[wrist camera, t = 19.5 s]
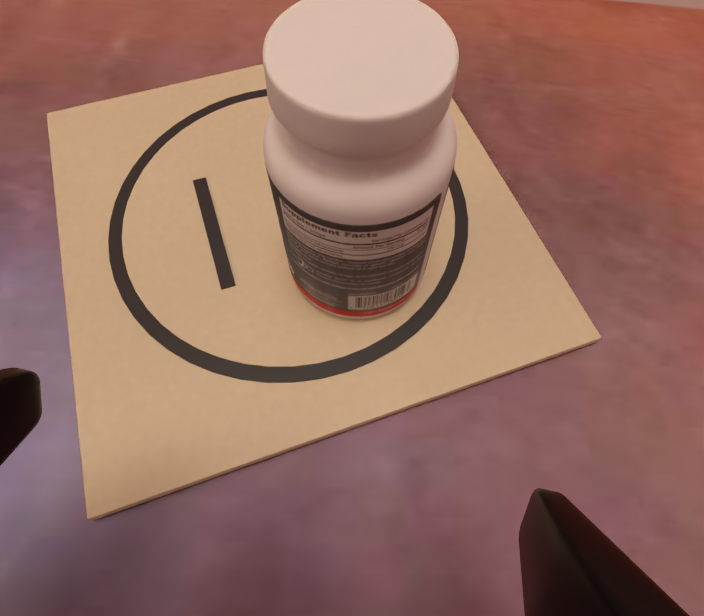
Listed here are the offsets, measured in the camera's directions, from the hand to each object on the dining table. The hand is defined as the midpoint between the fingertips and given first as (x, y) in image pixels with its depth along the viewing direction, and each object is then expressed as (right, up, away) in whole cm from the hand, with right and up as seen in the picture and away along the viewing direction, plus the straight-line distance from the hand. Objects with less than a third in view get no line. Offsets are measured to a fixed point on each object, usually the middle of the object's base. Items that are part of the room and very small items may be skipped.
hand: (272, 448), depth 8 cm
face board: (-1, +7, +14) cm, 15 cm away
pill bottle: (+2, +4, +12) cm, 13 cm away
